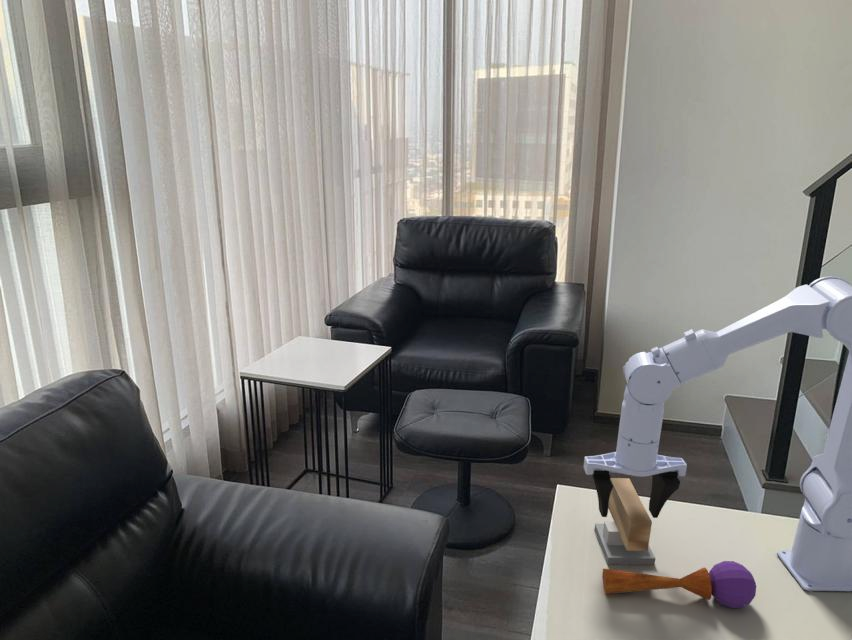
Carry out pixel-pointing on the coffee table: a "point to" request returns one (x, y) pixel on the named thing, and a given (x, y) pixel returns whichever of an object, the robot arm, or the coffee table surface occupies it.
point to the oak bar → (629, 515)
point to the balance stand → (620, 547)
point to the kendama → (692, 583)
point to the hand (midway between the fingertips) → (627, 513)
